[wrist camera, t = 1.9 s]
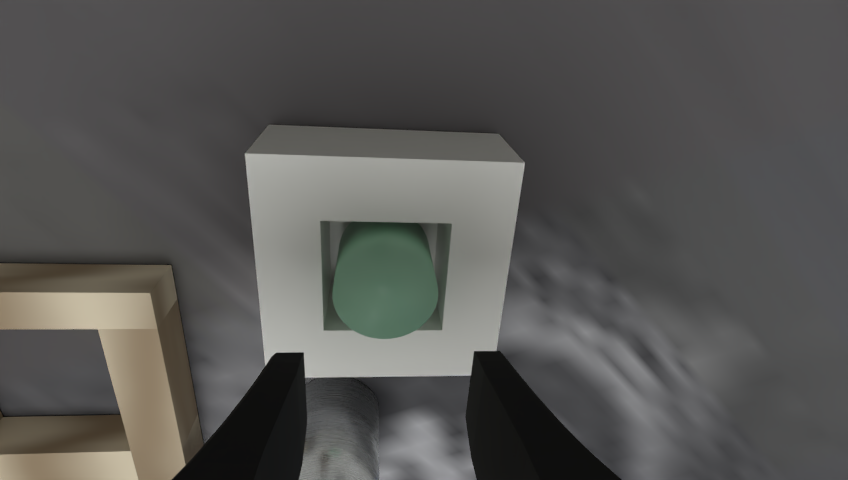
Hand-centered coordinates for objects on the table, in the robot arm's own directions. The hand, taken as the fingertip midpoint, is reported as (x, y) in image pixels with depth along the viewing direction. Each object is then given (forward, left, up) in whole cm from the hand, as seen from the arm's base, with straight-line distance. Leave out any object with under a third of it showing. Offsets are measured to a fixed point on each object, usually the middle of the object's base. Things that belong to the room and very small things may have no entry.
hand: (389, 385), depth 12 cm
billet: (+2, +9, -8) cm, 12 cm away
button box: (0, 0, -8) cm, 8 cm away
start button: (0, 0, -7) cm, 7 cm away
